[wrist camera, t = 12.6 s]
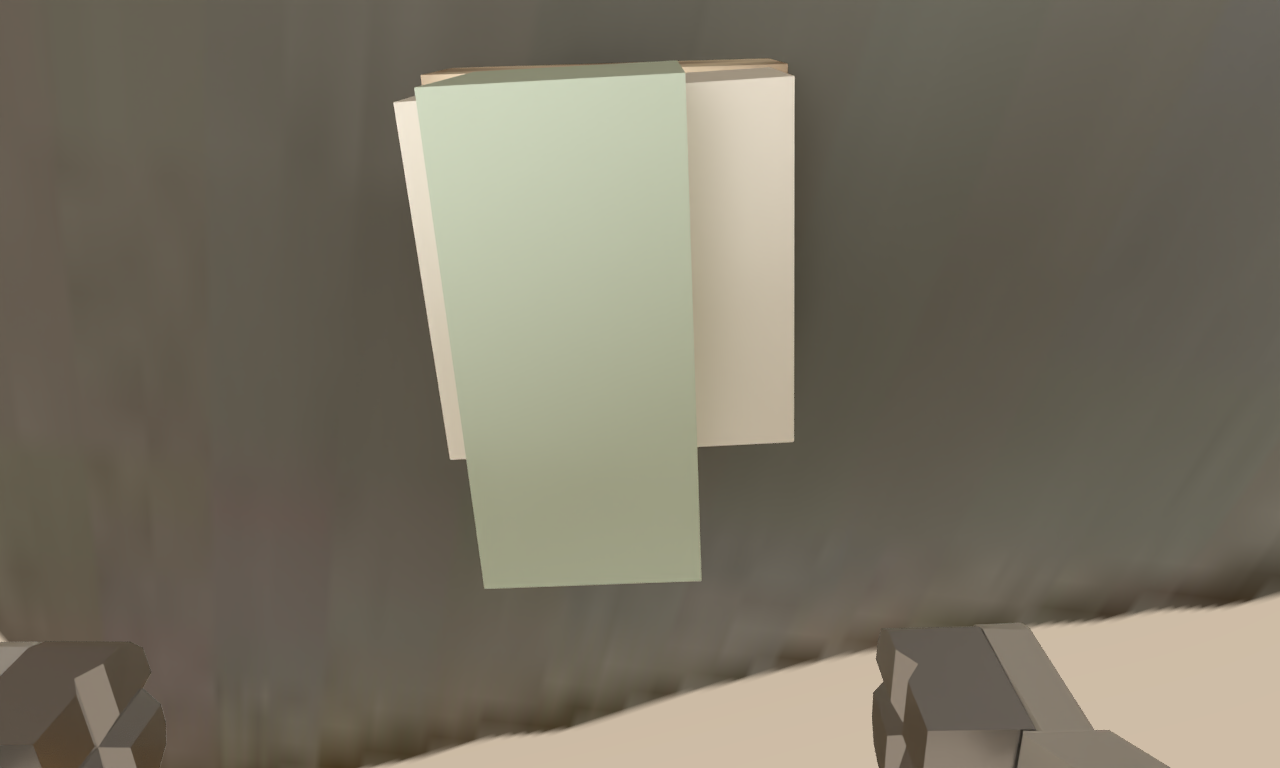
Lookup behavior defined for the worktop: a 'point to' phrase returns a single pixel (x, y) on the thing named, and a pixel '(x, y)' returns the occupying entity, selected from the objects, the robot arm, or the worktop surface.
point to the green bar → (570, 317)
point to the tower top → (693, 255)
